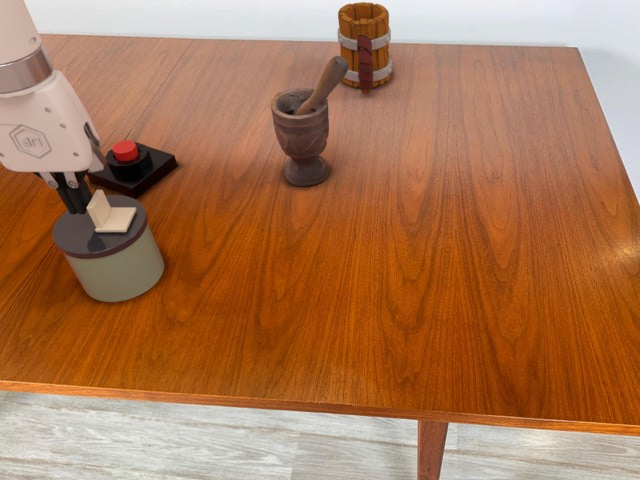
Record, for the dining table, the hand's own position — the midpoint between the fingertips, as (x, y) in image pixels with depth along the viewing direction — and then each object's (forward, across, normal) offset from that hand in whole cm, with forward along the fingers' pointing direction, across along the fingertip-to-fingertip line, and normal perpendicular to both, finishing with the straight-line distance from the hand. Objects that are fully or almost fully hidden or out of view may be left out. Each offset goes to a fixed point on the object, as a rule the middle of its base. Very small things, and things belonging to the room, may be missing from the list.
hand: (82, 207), depth 72 cm
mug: (+12, +33, +53) cm, 64 cm away
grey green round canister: (+12, +1, 0) cm, 12 cm away
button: (+8, -4, +23) cm, 25 cm away
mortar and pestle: (+12, +26, +23) cm, 37 cm away
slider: (+2, +4, 0) cm, 4 cm away
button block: (+12, -4, +23) cm, 26 cm away
